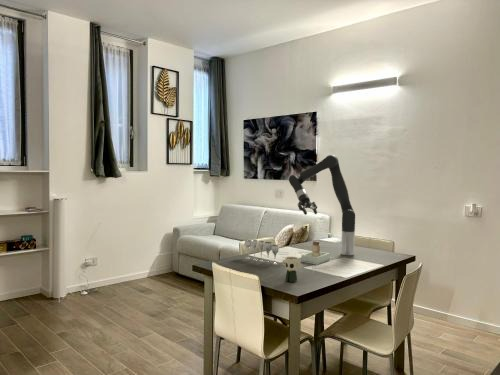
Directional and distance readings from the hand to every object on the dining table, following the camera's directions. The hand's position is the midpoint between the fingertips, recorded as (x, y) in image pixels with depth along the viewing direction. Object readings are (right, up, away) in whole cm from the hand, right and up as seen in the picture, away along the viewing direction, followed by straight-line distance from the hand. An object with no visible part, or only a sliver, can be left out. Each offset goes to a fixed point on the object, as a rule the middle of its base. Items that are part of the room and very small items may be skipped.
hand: (311, 213), depth 284 cm
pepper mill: (+1, -30, -15) cm, 33 cm away
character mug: (-21, -33, -66) cm, 77 cm away
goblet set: (-37, -30, -18) cm, 51 cm away
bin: (+1, -31, -15) cm, 34 cm away
